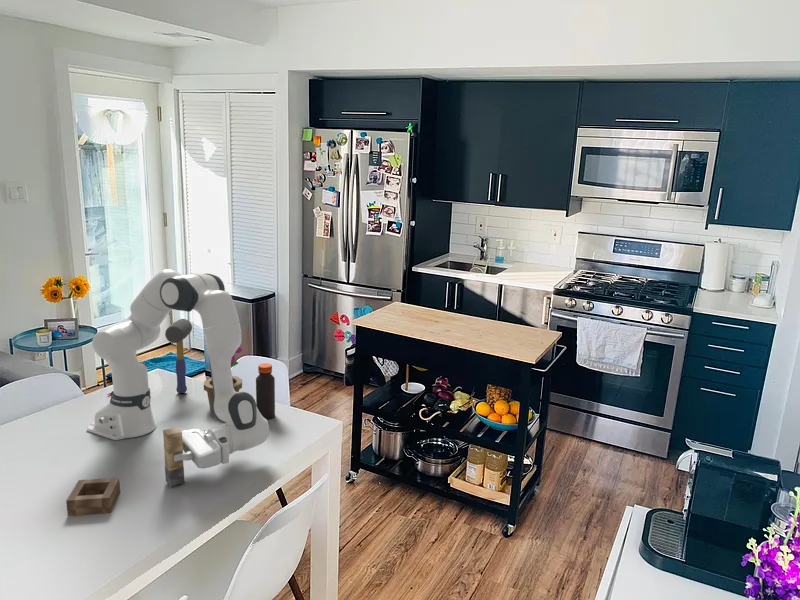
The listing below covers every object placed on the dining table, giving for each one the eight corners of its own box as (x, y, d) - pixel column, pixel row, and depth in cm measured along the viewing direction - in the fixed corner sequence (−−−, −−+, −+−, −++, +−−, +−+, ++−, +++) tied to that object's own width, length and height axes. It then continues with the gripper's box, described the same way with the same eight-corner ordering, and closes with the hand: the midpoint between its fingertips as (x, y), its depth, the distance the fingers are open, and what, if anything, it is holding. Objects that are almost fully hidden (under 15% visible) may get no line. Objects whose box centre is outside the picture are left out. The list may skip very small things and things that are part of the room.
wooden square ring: (120, 492, 171) (119, 477, 170) (110, 512, 161) (109, 497, 160) (80, 494, 169) (78, 480, 168) (67, 515, 159) (66, 500, 158)
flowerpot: (222, 417, 222) (220, 339, 216) (196, 408, 230) (193, 332, 223) (251, 405, 234) (249, 331, 227) (225, 397, 241) (223, 324, 235)
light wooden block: (179, 476, 179) (177, 426, 176) (184, 482, 176) (182, 431, 172) (165, 480, 177) (162, 430, 173) (170, 486, 174) (167, 435, 170)
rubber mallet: (186, 399, 238) (182, 326, 231) (166, 398, 237) (163, 325, 231) (196, 387, 250) (193, 317, 243) (177, 387, 250) (174, 317, 243)
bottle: (278, 415, 226) (278, 364, 222) (265, 421, 220) (265, 369, 216) (265, 411, 229) (265, 361, 225) (252, 417, 224) (251, 365, 219)
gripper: (204, 420, 189) (158, 430, 181) (230, 445, 174) (181, 458, 165) (204, 438, 191) (159, 449, 182) (230, 465, 175) (182, 479, 167)
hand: (170, 454), depth 174 cm, fingers closed on light wooden block, 4 cm apart
